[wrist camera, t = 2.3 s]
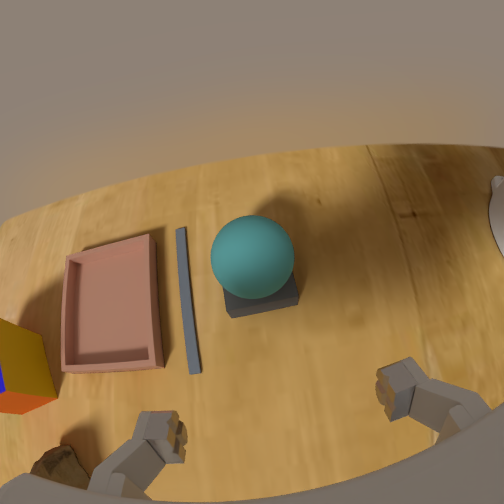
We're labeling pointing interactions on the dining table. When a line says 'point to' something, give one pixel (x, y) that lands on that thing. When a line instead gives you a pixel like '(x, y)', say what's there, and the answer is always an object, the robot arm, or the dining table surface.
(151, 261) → the tray
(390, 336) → the dining table surface
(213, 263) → the ball
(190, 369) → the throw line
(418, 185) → the dining table surface
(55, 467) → the rock
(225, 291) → the grey square frame
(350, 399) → the dining table surface
